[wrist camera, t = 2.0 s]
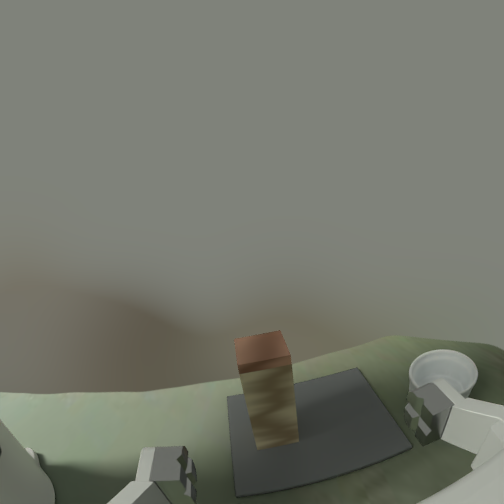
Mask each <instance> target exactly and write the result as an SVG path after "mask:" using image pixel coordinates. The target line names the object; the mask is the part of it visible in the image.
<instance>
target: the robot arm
mask: <svg viewBox="0 0 504 504" xmlns="http://www.w3.org/2000/svg"><path fill="white" fill-rule="evenodd" d="M406 400H407V401H408V402H409V403H408V404H407V405H406V407H405V408H404V419H405V422H406V424H407V426H408V427H409V428H410V429H412V430H415V431H416V433H415V437H416V438H417V439H418V441H419V442H420V443H421V445H422V446H423V447H424V446H426V445H428V444H430V443H432V442H434V441H436V440H438V439H440V438H441V439H442V440H444V441H446V442H449V443H451V444H453V445H456V446H458V447H460V448H463V449H465V450H467V451H470V452H472V453H475V454H477V455H476V456H475V458H474V460H473V462H472V464H471V467H472V469H473V471H472V472H470V473H469V474H467V475H466V476H464V477H462V478H461V479H459V480H458V481H456V482H454V483H453V484H451V485H449V486H448V487H446V488H444V489H442V490H441V491H439V492H437V493H435V494H433V495H432V496H430V497H428V498H426V499H424V500H422V501H420V502H418V503H416V504H504V406H503V405H498V404H494V403H489V402H485V401H480V400H476V399H472V398H466V399H465V398H464V397H463V396H462V395H461V394H460V393H458V392H457V391H456V390H455V389H454V388H453V387H452V386H451V385H450V384H449V383H448V382H447V381H446V380H445V379H444V378H439V379H437V380H434V381H432V382H430V383H428V384H425V385H423V386H421V387H419V388H417V389H414V390H412V391H410V392H409V393H408V394H407V398H406ZM196 482H197V475H196V469H195V465H194V462H193V460H192V459H191V458H189V457H188V451H187V449H186V447H185V446H174V447H144V448H143V449H142V450H141V455H140V459H139V464H138V469H137V474H136V479H135V481H131V482H130V483H129V484H128V485H127V486H126V487H125V488H123V489H122V490H121V491H120V492H119V493H118V494H117V495H116V496H115V497H114V498H113V499H111V500H110V501H109V502H108V503H107V504H196V489H195V488H194V486H193V485H194V484H195V483H196ZM0 504H55V492H54V488H53V485H52V482H51V480H50V479H49V477H48V476H47V474H46V473H45V472H44V471H43V470H42V468H41V467H40V464H39V458H38V455H37V454H36V453H35V452H34V451H33V450H32V449H31V448H24V447H23V446H22V445H21V444H20V443H19V441H18V440H17V439H16V438H15V437H14V436H13V434H12V433H11V432H10V431H9V429H8V428H7V427H6V426H5V425H4V423H3V422H2V421H1V420H0Z"/></svg>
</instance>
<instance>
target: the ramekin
mask: <svg viewBox="0 0 504 504" xmlns="http://www.w3.org/2000/svg"><path fill="white" fill-rule="evenodd" d="M439 378H444V379H445V380H446V381H447V382H448V383H449V384H450V385H451V386H452V387H453V388H454V389H455V390H456V391H457V392H458V393H460V394H461V395H462V396H463V397H464V398H465V399H466V398H468V396H469V394H470V392H471V390H472V388H473V387H474V385H475V383H476V381H477V378H478V370H477V367H476V365H475V363H474V362H473V361H472V360H471V359H470V358H469V357H468V356H466V355H464V354H462V353H460V352H457V351H453V350H444V349H443V350H442V349H441V350H433V351H429V352H426V353H424V354H422V355H420V356H418V357H417V358H416V359H415V360H414V361H413V362H412V364H411V366H410V368H409V379H410V383H409V392H410V391H412V390H414V389H417V388H419V387H421V386H423V385H425V384H428V383H430V382H432V381H434V380H437V379H439Z"/></svg>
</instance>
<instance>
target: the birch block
mask: <svg viewBox="0 0 504 504" xmlns="http://www.w3.org/2000/svg"><path fill="white" fill-rule="evenodd" d="M234 341H235V349H236V357H237V365H238V370H239V374H240V379H241V383H242V388H243V392H244V396H245V401H246V405H247V409H248V414H249V418H250V422H251V426H252V430H253V434H254V438H255V443H256V447H257V450H261V449H267V448H272V447H277V446H282V445H287V444H291V443H296V442H299V434H298V424H297V413H296V403H295V393H294V383H293V373H292V364H291V355H290V352H289V350H288V348H287V345H286V343H285V340H284V338H283V336H282V334H281V331H280V330H279V331H274V332H269V333H264V334H259V335H253V336H248V337H242V338H237V339H234Z"/></svg>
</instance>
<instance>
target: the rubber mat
mask: <svg viewBox="0 0 504 504" xmlns="http://www.w3.org/2000/svg"><path fill="white" fill-rule="evenodd" d="M294 393H295V403H296V413H297V424H298V434H299V442H296V443H291V444H287V445H282V446H277V447H272V448H267V449H261V450H257V447H256V443H255V438H254V434H253V430H252V426H251V422H250V418H249V414H248V409H247V405H246V401H245V396H244V394H239V395H233V396H227V403H228V416H229V428H230V440H231V451H232V462H233V472H234V482H235V492H236V497H244V496H252V495H258V494H264V493H270V492H276V491H281V490H286V489H291V488H295V487H300V486H304V485H308V484H312V483H316V482H320V481H323V480H327V479H330V478H334V477H337V476H341V475H344V474H347V473H350V472H353V471H356V470H359V469H362V468H365V467H367V466H370V465H373V464H376V463H378V462H381V461H383V460H386V459H388V458H391V457H393V456H396V455H398V454H400V453H403V452H405V451H407V450H409V449H411V448H412V445H411V443H410V442H409V440H408V439H407V438H406V436H405V435H404V433H403V432H402V430H401V429H400V428H399V426H398V425H397V423H396V422H395V420H394V419H393V418H392V416H391V415H390V413H389V412H388V410H387V409H386V408H385V406H384V405H383V403H382V402H381V400H380V399H379V398H378V396H377V395H376V393H375V392H374V391H373V389H372V388H371V386H370V385H369V384H368V382H367V381H366V379H365V378H364V377H363V375H362V374H361V372H360V371H359V370H358V368H353V369H350V370H347V371H343V372H339V373H336V374H332V375H328V376H325V377H321V378H317V379H313V380H309V381H304V382H300V383H296V384H294Z"/></svg>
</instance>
